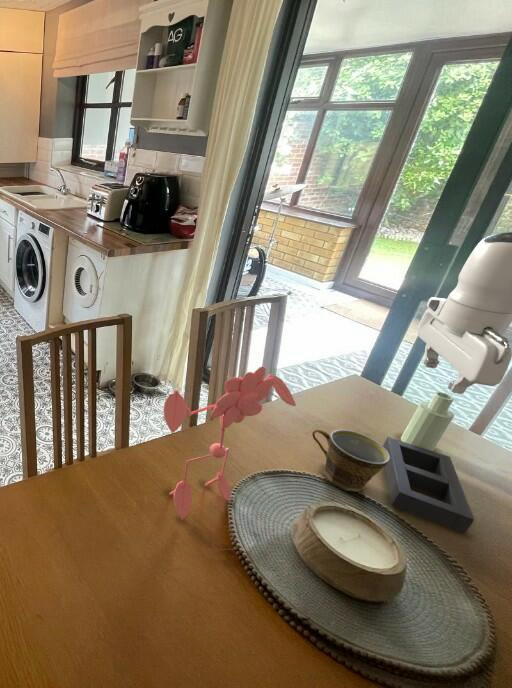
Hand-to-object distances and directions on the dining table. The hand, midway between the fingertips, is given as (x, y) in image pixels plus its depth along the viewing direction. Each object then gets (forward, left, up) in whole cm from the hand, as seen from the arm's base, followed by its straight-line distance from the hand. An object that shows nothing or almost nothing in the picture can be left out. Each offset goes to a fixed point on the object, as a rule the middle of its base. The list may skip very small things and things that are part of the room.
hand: (441, 378), depth 83 cm
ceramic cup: (+10, +9, -26) cm, 29 cm away
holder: (-5, +2, -26) cm, 26 cm away
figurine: (+31, +37, -26) cm, 55 cm away
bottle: (-7, -15, -26) cm, 30 cm away
